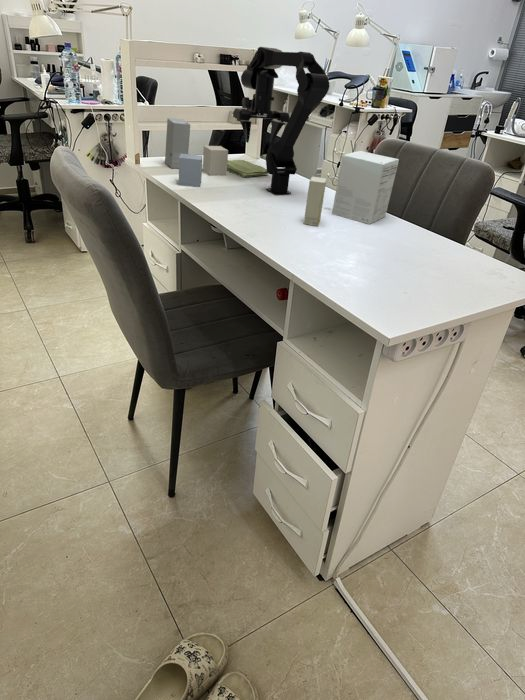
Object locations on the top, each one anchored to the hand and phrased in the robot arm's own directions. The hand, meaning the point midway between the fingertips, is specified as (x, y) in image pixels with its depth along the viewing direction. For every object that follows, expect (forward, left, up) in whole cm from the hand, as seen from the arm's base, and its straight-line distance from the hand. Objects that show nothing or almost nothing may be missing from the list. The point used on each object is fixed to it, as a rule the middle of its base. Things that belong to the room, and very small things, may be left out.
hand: (259, 142), depth 170 cm
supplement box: (-40, -17, -13) cm, 45 cm away
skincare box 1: (+22, +22, -13) cm, 34 cm away
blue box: (-2, +25, -13) cm, 28 cm away
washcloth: (+14, -1, -14) cm, 20 cm away
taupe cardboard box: (+12, +11, -13) cm, 21 cm away
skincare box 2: (-44, +3, -13) cm, 46 cm away
